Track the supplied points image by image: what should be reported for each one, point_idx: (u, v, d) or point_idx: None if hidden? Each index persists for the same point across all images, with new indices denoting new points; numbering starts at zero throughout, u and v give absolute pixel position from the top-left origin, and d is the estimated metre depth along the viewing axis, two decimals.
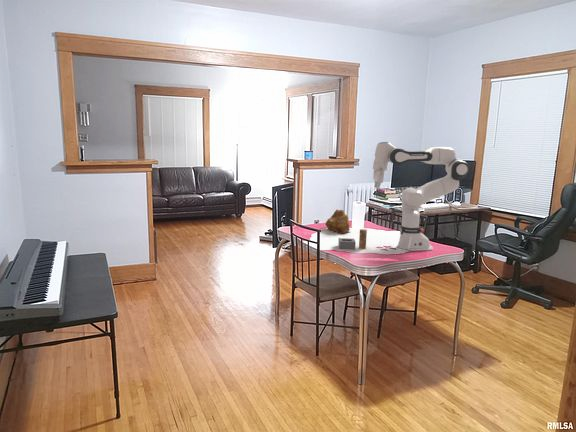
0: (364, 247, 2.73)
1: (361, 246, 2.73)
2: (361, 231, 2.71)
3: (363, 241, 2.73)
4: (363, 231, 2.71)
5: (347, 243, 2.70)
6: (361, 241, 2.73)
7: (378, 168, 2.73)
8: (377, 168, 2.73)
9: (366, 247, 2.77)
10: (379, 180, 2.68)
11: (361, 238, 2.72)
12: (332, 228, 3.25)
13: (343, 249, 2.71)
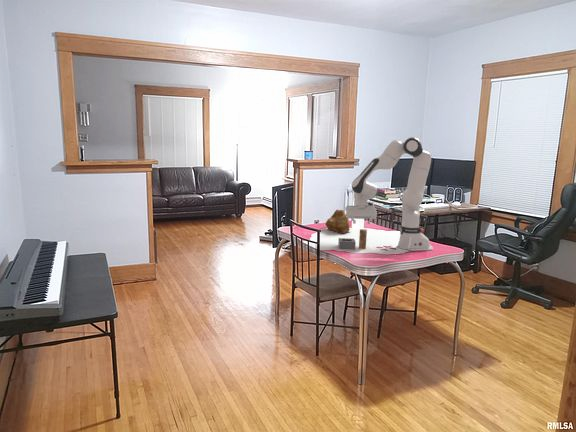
0: (364, 247, 2.73)
1: (361, 246, 2.73)
2: (361, 231, 2.71)
3: (363, 241, 2.73)
4: (363, 231, 2.71)
5: (347, 243, 2.70)
6: (361, 241, 2.73)
7: None
8: None
9: (366, 247, 2.77)
10: (346, 215, 2.85)
11: (361, 238, 2.72)
12: (332, 228, 3.25)
13: (343, 249, 2.71)
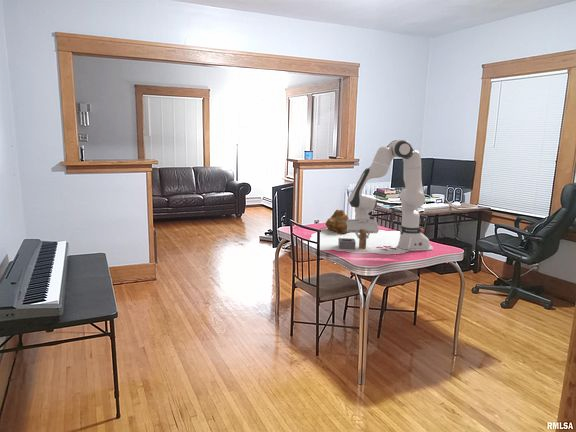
0: (364, 247, 2.73)
1: (361, 246, 2.73)
2: (361, 231, 2.71)
3: (363, 241, 2.73)
4: (363, 231, 2.71)
5: (347, 243, 2.70)
6: (361, 241, 2.73)
7: None
8: None
9: (366, 247, 2.77)
10: None
11: (361, 238, 2.72)
12: (332, 228, 3.25)
13: (343, 249, 2.71)
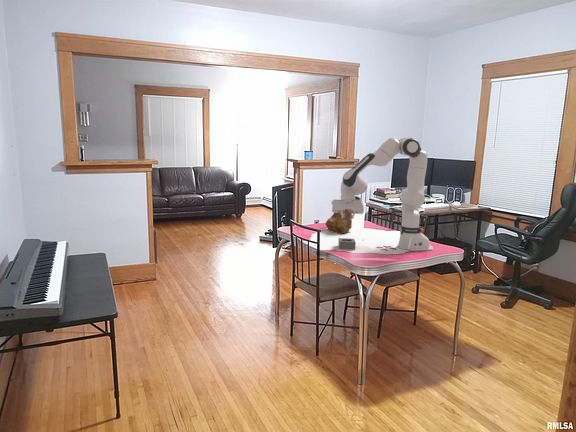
0: (349, 227, 2.71)
1: (346, 226, 2.71)
2: (347, 210, 2.69)
3: (347, 221, 2.71)
4: (348, 211, 2.69)
5: (347, 243, 2.70)
6: (346, 221, 2.71)
7: None
8: None
9: (366, 247, 2.77)
10: (332, 209, 2.75)
11: (346, 218, 2.70)
12: (332, 228, 3.25)
13: (343, 249, 2.71)
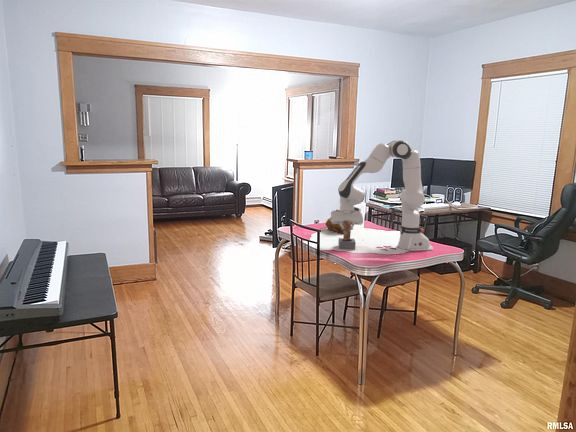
0: (348, 238, 2.73)
1: (345, 237, 2.73)
2: (346, 222, 2.71)
3: (347, 232, 2.72)
4: (347, 222, 2.71)
5: (347, 243, 2.70)
6: (345, 232, 2.72)
7: None
8: None
9: (366, 247, 2.77)
10: (331, 221, 2.77)
11: (345, 229, 2.72)
12: (332, 228, 3.25)
13: (343, 249, 2.71)
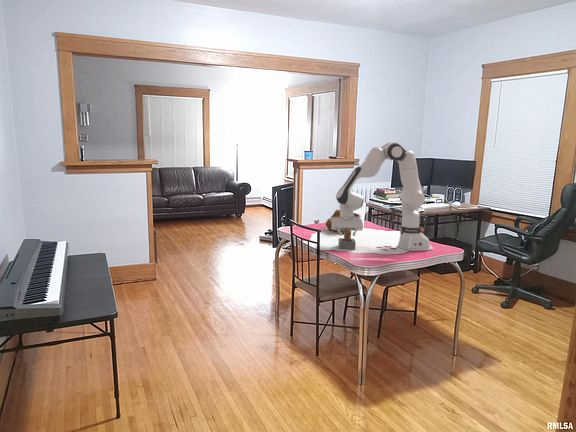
0: None
1: None
2: (346, 230, 2.72)
3: (347, 240, 2.73)
4: (348, 230, 2.72)
5: (347, 243, 2.70)
6: (345, 240, 2.73)
7: None
8: None
9: (366, 247, 2.77)
10: (331, 227, 2.77)
11: (345, 237, 2.73)
12: None
13: (343, 249, 2.71)
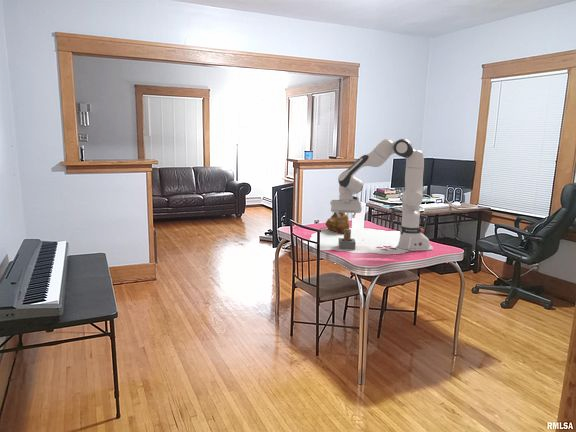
0: None
1: None
2: (346, 230, 2.72)
3: (347, 240, 2.73)
4: (347, 231, 2.72)
5: (347, 243, 2.70)
6: None
7: None
8: None
9: (366, 247, 2.77)
10: (331, 209, 2.87)
11: (345, 238, 2.73)
12: (332, 228, 3.25)
13: (343, 249, 2.71)
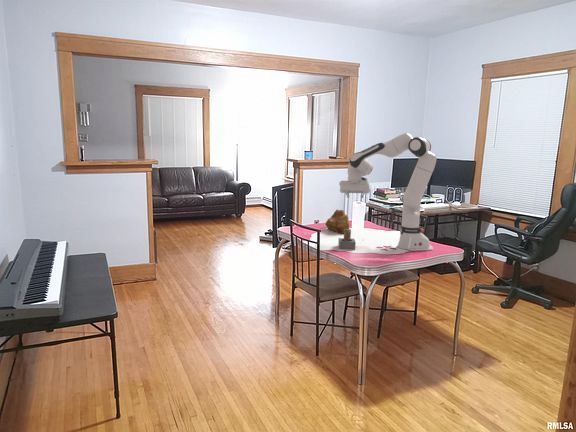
0: None
1: None
2: (346, 230, 2.72)
3: (347, 240, 2.73)
4: (347, 231, 2.72)
5: (347, 243, 2.70)
6: None
7: None
8: None
9: (366, 247, 2.77)
10: None
11: (345, 238, 2.73)
12: (332, 228, 3.25)
13: (343, 249, 2.71)
